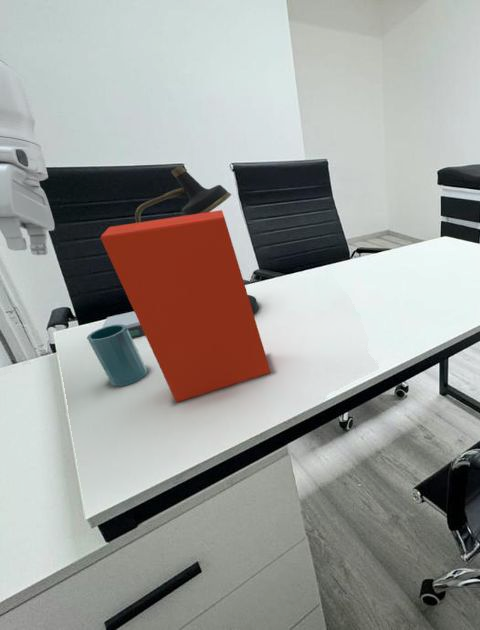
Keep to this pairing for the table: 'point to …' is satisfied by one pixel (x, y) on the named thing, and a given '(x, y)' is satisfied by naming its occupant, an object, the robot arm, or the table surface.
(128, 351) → the cup
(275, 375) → the table surface
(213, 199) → the lamp
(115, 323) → the scale
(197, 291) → the file binder
